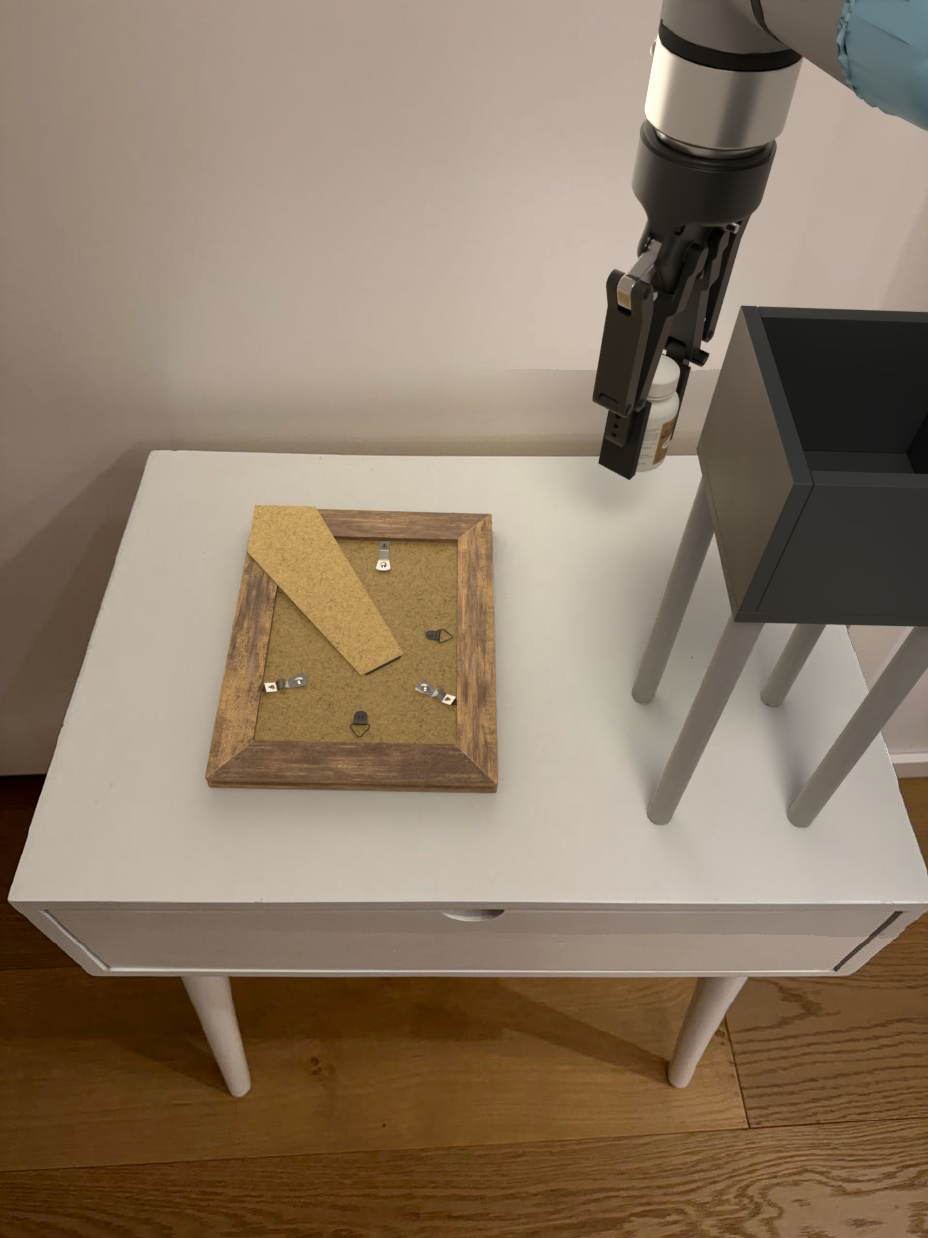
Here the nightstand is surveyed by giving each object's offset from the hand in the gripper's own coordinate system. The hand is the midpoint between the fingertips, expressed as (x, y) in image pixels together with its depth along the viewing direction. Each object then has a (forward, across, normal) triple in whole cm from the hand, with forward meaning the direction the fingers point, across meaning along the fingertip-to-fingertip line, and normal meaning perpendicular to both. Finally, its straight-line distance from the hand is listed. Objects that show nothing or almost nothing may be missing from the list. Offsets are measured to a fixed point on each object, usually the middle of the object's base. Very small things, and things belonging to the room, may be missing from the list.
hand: (635, 450), depth 70 cm
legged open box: (+9, +13, +17) cm, 23 cm away
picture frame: (+9, +22, -8) cm, 25 cm away
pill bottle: (0, 0, 0) cm, 0 cm away
